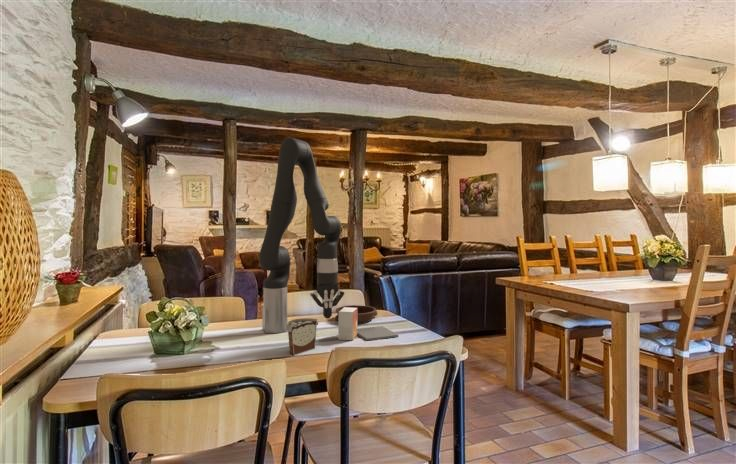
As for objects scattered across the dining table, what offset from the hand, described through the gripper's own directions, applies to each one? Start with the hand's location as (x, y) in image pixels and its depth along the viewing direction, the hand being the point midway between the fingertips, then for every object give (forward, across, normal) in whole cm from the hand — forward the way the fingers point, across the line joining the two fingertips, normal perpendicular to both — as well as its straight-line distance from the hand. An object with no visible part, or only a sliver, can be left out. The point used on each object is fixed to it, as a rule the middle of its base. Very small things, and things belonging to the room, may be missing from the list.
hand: (327, 317), depth 155 cm
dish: (+8, -21, -24) cm, 33 cm away
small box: (+8, -8, 0) cm, 12 cm away
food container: (+8, +13, +8) cm, 17 cm away
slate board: (+8, -19, 0) cm, 21 cm away
